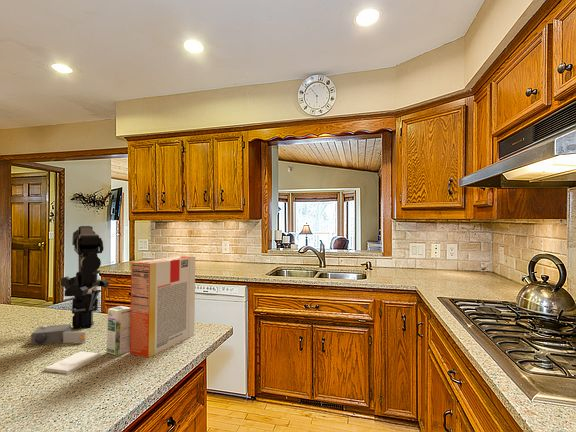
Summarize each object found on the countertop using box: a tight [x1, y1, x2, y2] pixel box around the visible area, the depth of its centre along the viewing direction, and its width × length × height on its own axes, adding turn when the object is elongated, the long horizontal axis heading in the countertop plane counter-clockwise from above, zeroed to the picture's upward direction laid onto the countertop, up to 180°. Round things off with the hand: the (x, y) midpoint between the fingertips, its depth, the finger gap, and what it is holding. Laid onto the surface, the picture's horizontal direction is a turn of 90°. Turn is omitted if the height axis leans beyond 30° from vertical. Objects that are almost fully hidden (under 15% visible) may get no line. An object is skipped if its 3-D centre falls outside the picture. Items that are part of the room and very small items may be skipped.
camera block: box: [30, 323, 72, 346], centre depth 120 cm, size 10×9×5 cm
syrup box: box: [106, 305, 131, 357], centre depth 110 cm, size 6×6×14 cm
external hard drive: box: [43, 350, 102, 375], centre depth 100 cm, size 2×8×12 cm
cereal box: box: [129, 255, 196, 358], centre depth 118 cm, size 23×8×30 cm, turn 158°
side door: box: [60, 331, 87, 343], centre depth 117 cm, size 2×9×4 cm, turn 92°
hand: (87, 310), depth 122 cm, fingers closed
